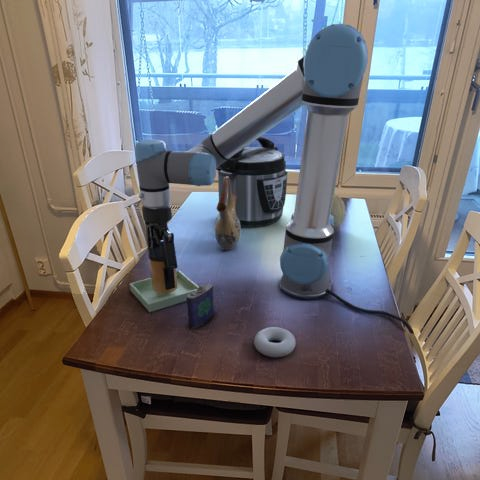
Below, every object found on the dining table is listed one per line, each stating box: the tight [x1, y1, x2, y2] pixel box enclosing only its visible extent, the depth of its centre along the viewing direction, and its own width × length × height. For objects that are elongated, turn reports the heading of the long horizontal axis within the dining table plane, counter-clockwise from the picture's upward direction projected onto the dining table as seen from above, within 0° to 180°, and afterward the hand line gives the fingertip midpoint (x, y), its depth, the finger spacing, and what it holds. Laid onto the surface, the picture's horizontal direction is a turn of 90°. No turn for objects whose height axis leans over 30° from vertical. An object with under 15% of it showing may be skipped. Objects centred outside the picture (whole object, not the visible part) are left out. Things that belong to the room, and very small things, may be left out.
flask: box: [186, 283, 215, 329], centre depth 109 cm, size 9×3×11 cm, turn 144°
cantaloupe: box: [331, 193, 347, 230], centre depth 163 cm, size 15×15×15 cm
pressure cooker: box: [216, 136, 288, 227], centre depth 170 cm, size 30×28×32 cm
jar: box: [146, 246, 177, 294], centre depth 120 cm, size 8×8×12 cm
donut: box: [253, 326, 296, 358], centre depth 101 cm, size 10×4×10 cm
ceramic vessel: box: [214, 177, 242, 251], centre depth 146 cm, size 16×9×25 cm, turn 166°
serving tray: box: [129, 269, 199, 313], centre depth 124 cm, size 14×16×2 cm
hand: (164, 282), depth 122 cm, fingers closed on jar, 7 cm apart
